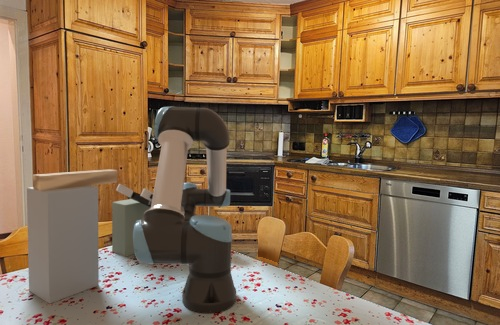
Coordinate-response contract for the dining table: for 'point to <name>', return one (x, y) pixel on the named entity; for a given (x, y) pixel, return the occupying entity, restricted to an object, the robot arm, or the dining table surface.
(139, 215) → the sage green block
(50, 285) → the stand
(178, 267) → the dining table surface
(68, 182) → the tan wooden bar
